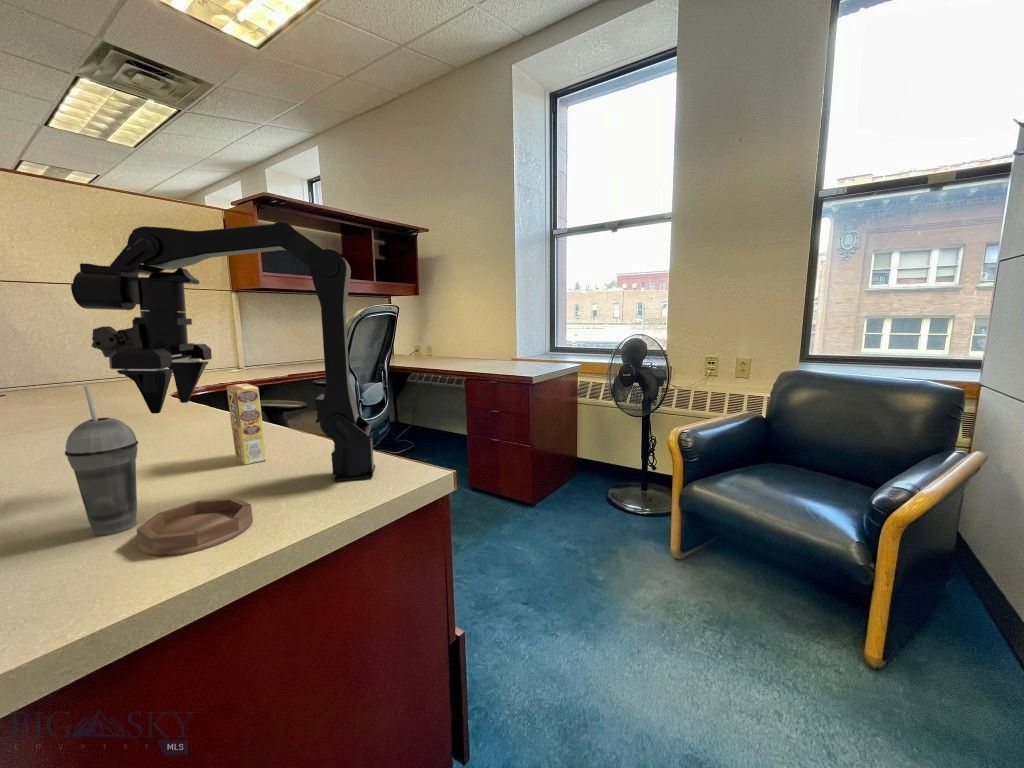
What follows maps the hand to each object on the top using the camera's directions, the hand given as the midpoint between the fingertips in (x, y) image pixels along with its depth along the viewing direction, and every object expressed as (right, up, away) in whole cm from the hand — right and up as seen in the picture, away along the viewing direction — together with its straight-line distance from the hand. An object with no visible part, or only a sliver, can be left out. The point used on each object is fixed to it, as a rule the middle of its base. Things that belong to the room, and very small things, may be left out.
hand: (170, 407), depth 71 cm
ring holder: (+14, -16, -12) cm, 25 cm away
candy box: (+1, -12, +19) cm, 23 cm away
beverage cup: (+1, -16, -11) cm, 20 cm away
